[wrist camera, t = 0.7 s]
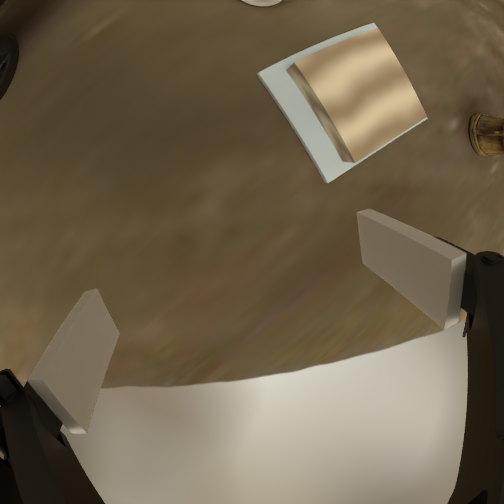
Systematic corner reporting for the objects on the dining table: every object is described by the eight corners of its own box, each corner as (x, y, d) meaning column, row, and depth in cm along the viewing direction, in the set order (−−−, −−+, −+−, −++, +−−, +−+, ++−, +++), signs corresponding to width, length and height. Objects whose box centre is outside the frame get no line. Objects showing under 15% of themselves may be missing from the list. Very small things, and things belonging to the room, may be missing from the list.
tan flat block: (285, 70, 34) (294, 62, 30) (364, 35, 33) (377, 27, 29) (342, 161, 39) (355, 163, 35) (411, 118, 38) (426, 117, 34)
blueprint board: (256, 74, 34) (258, 72, 33) (370, 24, 33) (374, 22, 32) (324, 182, 41) (328, 183, 40) (423, 118, 39) (427, 118, 38)
